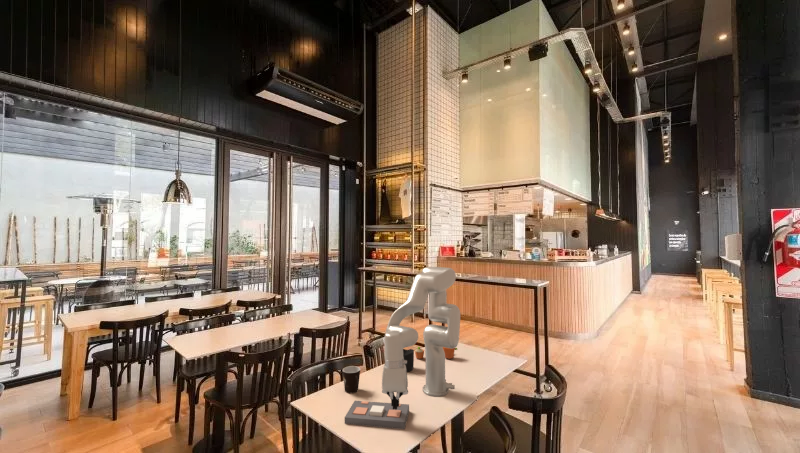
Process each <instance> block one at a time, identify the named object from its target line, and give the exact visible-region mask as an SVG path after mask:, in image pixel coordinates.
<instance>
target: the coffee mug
mask: <svg viewBox="0 0 800 453" xmlns="http://www.w3.org/2000/svg"><path fill="white" fill-rule="evenodd" d="M360 375H361V367H359V366H356V365H349V366H346V367H344V368H342V378H343V387H344V388H343V389H344V392H345V393H347V394H354V393H355V394H356V393H357V392H358V391H359V385H360V384H359V383H360Z"/></svg>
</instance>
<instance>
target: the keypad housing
mask: <svg viewBox="0 0 800 453" xmlns="http://www.w3.org/2000/svg"><path fill="white" fill-rule="evenodd" d="M373 405H375V406H384V414H383V416H382V417H381V416H370V410H371V408H372V406H373ZM356 407H362V408H368V411H367V413H366V415H355V414H353V412H354V410H355V409H356ZM389 410H395V409H393V406H391V402H380V401H378V402H377V401H367V400H354V401H353V403H352V404H351V406H350V407H349V409H348V411H347V412H346V414H345V416H344V424H345V425H356V426H364V427H365V426H367V427H378V428H387V429H397V430H405V428H406V425H407V421H408V417H409V414H410V404H408V403H407V404H406V403H399V406H398V407H397V410H401V416H400V418H393V417H387V414H388V411H389Z"/></svg>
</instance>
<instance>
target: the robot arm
mask: <svg viewBox="0 0 800 453" xmlns="http://www.w3.org/2000/svg"><path fill="white" fill-rule="evenodd" d="M456 278H457V274H456V271H455V270H454V269H453V268H452V267H443V266H442V267H441V266H426V267H424V268H423V269H422V271H421V273H418V274H416V275H415V276H414V278H413V281H412V284H411V287H410V289H409V291H408V292H409V293H408V295H407V298H406V299H405V300H406V301H405V302H403V303H402V304H401V305H400V306H399V307H398V308H397V309H395V311H394V312H393V313H392V314H391V316H390V317H389V320H388V322H387V326H386V328H385V334H384V337H383V338H384V364H383V367H382V375H381V378H382V379H381V393H382V394H385V395H387V396H388V398H390V403H391V406H393V409H395V410H397V407H398V406H399V404H400V398H401V397H402V396H404V395H405V396H406V395H408V393H409V389H408V387H409V386H408V383H409V382H408V371H407V370H406V365H405V364H407V360H404V357H403V349H406V348H409V347H412V346H414V345H415V344H417V342H418V340H419V332H418V331H417V329H415V328H413V327H410V326H409V327H407V326H404V325H401V323H402V322H403V320H404V319H406V318H407V317H409V316H410V315H413V314H416V313H419V312H421V311H423V310H424V308H425V305H426V303H427V301H428V311H427V313H428V314H427V316H428V319H429V320H430V321H431V322H435V323H439V324H429V325H426V326H425V328H424V329H423V333H422V335H423V342H424V347H425V349H424V354H425V384H424V385H423V386H422V392H423V393H424V394H425V395H428V396H431V397H443V396H445V395H447V394H449V389H450V390H456V388H455V384H453V382H447V379H446V358H445V353H444V350H443V348H442V347H445V348H457V347H458V345H459V341H460V331H461V330H460V328H461V310H460V308H459V306H457V304H454V303H453V304H452V303H447V289H449V288H450V287H452V286H453V285H454V283H455V281H456ZM428 296H429V298H428ZM440 324H445V325H447V326H444V325H440ZM395 393H396V395H395Z"/></svg>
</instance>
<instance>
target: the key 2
mask: <svg viewBox="0 0 800 453" xmlns="http://www.w3.org/2000/svg"><path fill="white" fill-rule="evenodd" d="M400 416H401V410H389V411H388V414H387V417H393V418H400Z"/></svg>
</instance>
